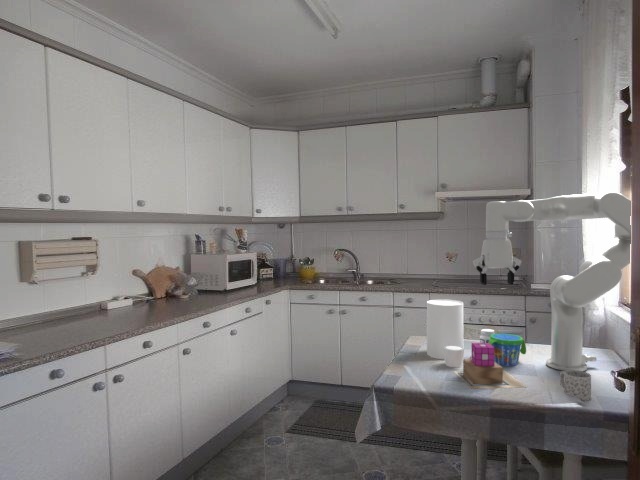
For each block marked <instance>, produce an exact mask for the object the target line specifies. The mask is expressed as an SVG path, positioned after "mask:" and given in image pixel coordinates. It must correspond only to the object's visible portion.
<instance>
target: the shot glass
mask: <svg viewBox="0 0 640 480" xmlns="http://www.w3.org/2000/svg"><path fill="white" fill-rule="evenodd" d="M464 354H465V348H464V346H463V347H461V346H454V345H449V346H445V347H444V356H445V359H444V363H445V366H447V367H450V368H461V367H462V368H463V359H464V356H465V355H464Z"/></svg>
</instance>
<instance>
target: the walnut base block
mask: <svg viewBox="0 0 640 480" xmlns="http://www.w3.org/2000/svg"><path fill="white" fill-rule="evenodd" d="M503 370H504V368H503V366H502V365H499V364H497V363H496V362H494V366H476V365H475V364H474V363H473V361H472V358H467V359H466V358H465V359H464V358H463V365H462V371H463V375H464V376H465V377H466V378H467V379H469V380H470V381H471V382H472V383H473V384H503Z"/></svg>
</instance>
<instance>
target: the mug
mask: <svg viewBox="0 0 640 480" xmlns="http://www.w3.org/2000/svg"><path fill="white" fill-rule="evenodd" d="M559 383H560V384H559V385H560V386H561V387H562V388H563V390H564V394H566V395H569V396H571V397H575V398H576V399H578V400H579V401H581V402H588V401H591V399H592V375H591V374H590V373H588V372H586V371H577V370H568V371H563V370H560V373H559Z"/></svg>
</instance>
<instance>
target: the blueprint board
mask: <svg viewBox="0 0 640 480" xmlns="http://www.w3.org/2000/svg"><path fill="white" fill-rule="evenodd" d="M453 373H454V374H456V376H458V378H460V379H461V380H462V381H463V382H464V383H465V384H466V385H467V386H468V387H469V388H470V389H473V390H474V389H475V390H477V389H480V390H481V389H512V388H513V389H514V388H515V389H517V388H528V386H527V385H525V384H524V383H523V382H521V381H520V380H519V379H517V378H515V377H514V376H513V375H511V374H510V373H509V372H508V371H506V370H505V369H503V384H473V383H472V382H471V381H470V380H469V379H467V378H466V377H465V376H464V375H463V370H454V371H453Z"/></svg>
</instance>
